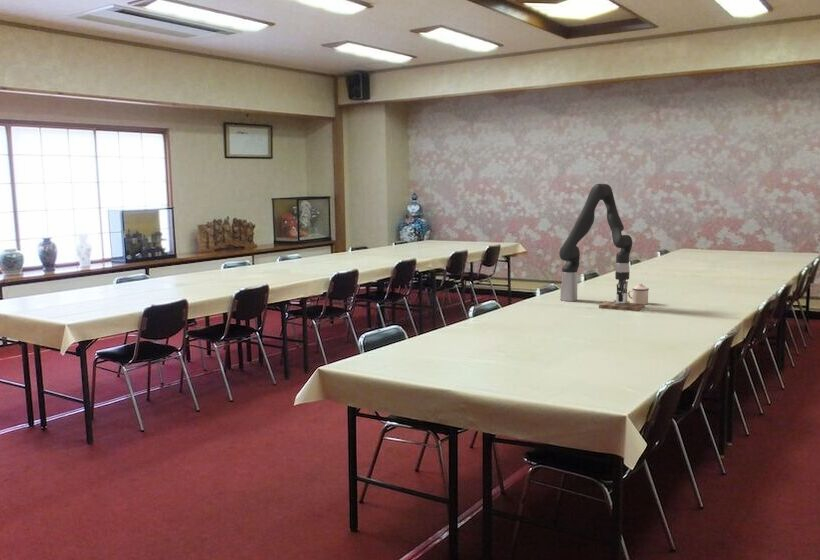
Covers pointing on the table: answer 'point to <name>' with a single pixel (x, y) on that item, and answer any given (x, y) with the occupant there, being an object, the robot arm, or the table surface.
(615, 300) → the white block
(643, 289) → the teacup with lid
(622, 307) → the walnut base
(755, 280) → the table surface
